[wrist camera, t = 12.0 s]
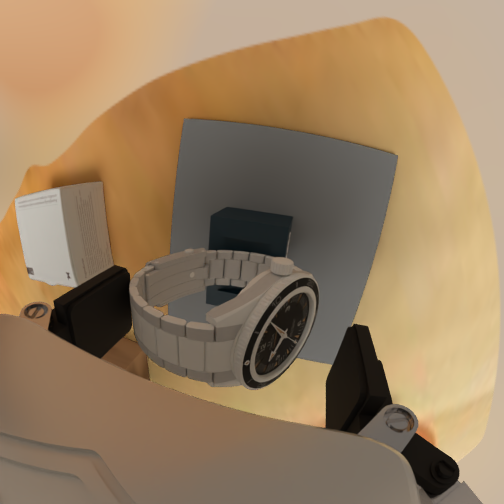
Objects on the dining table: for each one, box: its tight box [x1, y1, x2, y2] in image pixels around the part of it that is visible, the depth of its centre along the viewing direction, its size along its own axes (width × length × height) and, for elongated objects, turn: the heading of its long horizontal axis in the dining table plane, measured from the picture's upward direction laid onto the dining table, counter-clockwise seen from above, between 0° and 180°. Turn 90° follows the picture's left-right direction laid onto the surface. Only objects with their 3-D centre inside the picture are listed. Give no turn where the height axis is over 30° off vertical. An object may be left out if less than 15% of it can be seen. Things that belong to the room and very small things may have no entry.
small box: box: [15, 181, 114, 288], centre depth 20 cm, size 8×8×5 cm
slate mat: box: [168, 119, 398, 365], centre depth 19 cm, size 16×14×1 cm
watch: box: [129, 207, 319, 390], centre depth 14 cm, size 6×8×11 cm
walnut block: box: [101, 337, 150, 381], centre depth 24 cm, size 5×5×4 cm
